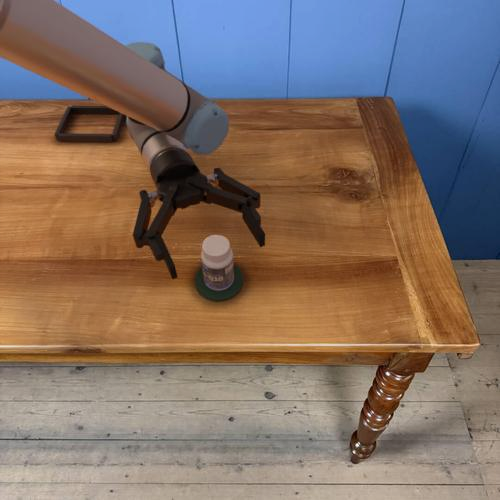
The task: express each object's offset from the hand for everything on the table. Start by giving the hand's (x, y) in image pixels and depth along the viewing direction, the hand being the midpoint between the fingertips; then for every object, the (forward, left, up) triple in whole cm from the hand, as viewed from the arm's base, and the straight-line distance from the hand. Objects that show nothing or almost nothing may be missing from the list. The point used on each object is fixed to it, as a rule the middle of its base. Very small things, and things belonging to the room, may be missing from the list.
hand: (219, 256), depth 65 cm
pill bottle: (-1, +1, -8) cm, 8 cm away
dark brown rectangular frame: (-49, +13, -8) cm, 52 cm away
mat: (-1, +1, -8) cm, 8 cm away
